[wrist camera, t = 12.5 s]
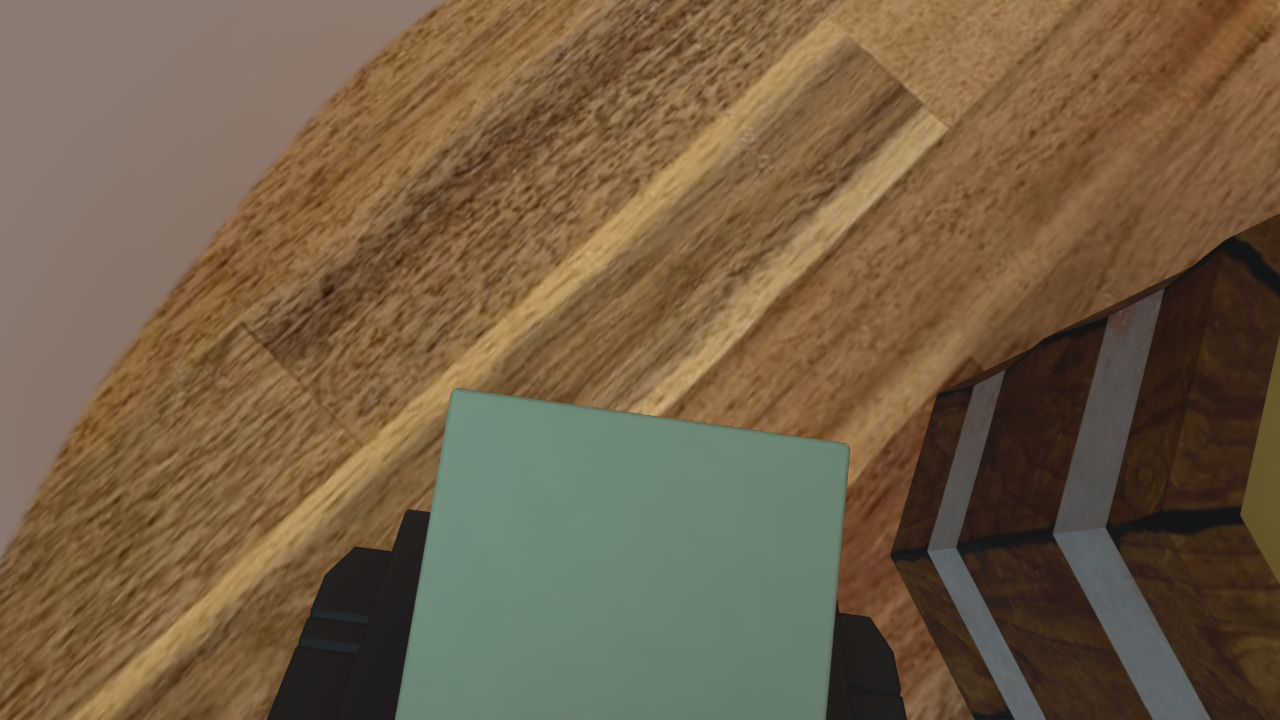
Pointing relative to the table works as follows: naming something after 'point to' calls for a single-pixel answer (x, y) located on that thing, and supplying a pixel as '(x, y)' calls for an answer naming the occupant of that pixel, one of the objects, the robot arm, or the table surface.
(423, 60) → the table surface
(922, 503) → the mug
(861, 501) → the table surface
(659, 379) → the table surface
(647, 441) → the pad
